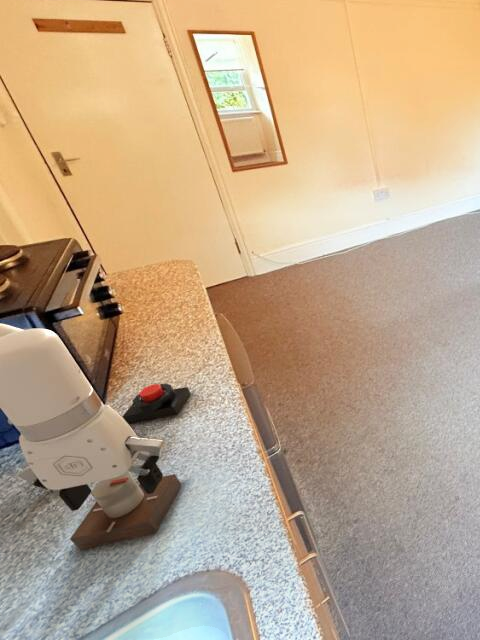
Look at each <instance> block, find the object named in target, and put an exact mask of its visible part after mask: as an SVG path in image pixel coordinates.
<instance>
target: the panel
mask: <svg viewBox="0 0 480 640" xmlns="http://www.w3.org/2000/svg"><path fill="white" fill-rule="evenodd" d="M136 482H137V484H138V485H139V487H140V488H141V490H142V491H143V493H144V497H143V499H142V501H141V502H140V504H139V505H138V506H137V507H136V508H135V509H133V510H132V511H130V512H129V513H127V514H125V515H123V516H121V517H117V518H110V517H108V516H107V514H106V513H105V512H104V510H103V509H102V508H101V507H100V505H99V504H98V503H97V501H96V500H95V503H94V504H93V505H92V506H91V508H90V509H89V511H88V512H87V514H86V516H85V517H84V519H83V520H82V521H81V523H79V525H78V526H77V528H76V530H75V531H74V532H73V534H72V536H71V537H70V538H69V540H70V541H71V542H72V543H73V544H74V546H75V547H76V548H77V549H78V550H79V551H83V550H84V551H85V550H87V549H88V550H89V549H93V548H97V547H100V546H105V545H110V544H114V543H117V542H123V541H127V540H130V539H135V538H139V537H143V536H148V535H151V534H152V535H153V534H156V533H158V531H159V529H160V527H161V525H162V523H163V522H164V520H165V517H166V516H167V514H168V511H169V510H170V508H171V506H172V504H173V503H174V501H175V499H176V497H177V495H178V493H179V491H180V489H181V487H182V484H181V481H180V480H179V478H178V476H177V475H176V473H174V474H168V475H163V477H162V480H161V481H160V483H159V484H158V486H157V488H156V489H155V491H154V492H153V493H151V494H147V493H146V492H145V490H144V489H143V487H142V486H141V484H140V483H139V482H138V481H136Z"/></svg>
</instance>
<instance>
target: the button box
mask: <svg viewBox="0 0 480 640" xmlns="http://www.w3.org/2000/svg"><path fill="white" fill-rule="evenodd" d="M158 384H159V383H158ZM159 385H160V386H161V387H162V389H163V391H164V393H163V394H162V395H161V396H160V397H158V398H157V399H154V400H152V401H148V402H144V401H143V400H142V398H141V397H140V392H139V393H137V394H136V396H135V397H134V398H133V400H132V404H131V405H130V406H129V407H128V409H127V410H126V411H125V413H123V415H122V418H123V419H124V420H125V421H126V422H127V424H128V425H130V424H135V423H136V424H137V423H141V422H145V421H151V420H158V419H163V418H168V417H175V416H178V415H179V414H180V412H181V411H182V409H183V408H184V406H185V404H186V403H187V401H188V400H189V398H190V396H191V395H192V393H191V392H190V389H189V386H184V387H178V388H173V385H172V384H170V383H160V384H159Z"/></svg>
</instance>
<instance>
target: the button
mask: <svg viewBox="0 0 480 640" xmlns="http://www.w3.org/2000/svg"><path fill="white" fill-rule="evenodd" d="M139 393H140V397H141V398H142V400H143V401H144V402H148V401H152V400H154V399H157V398H158V397H160V396H161V395H162V394H163V393H164V391H163V389H162V387H161V386H160V385H159V383H154V384H150V385H148V386H146V387H144V388H143V389H141V390H140V392H139Z"/></svg>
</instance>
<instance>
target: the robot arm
mask: <svg viewBox="0 0 480 640" xmlns="http://www.w3.org/2000/svg"><path fill="white" fill-rule="evenodd" d="M0 410H1V411H2V412H3V414H4V415H5V417H6V418H7V423H8V424H9V425H13V426H14V427H15V429H17V431H18V432H19V433H20V436H19V437H18V442H19V445H20V450H21V452H22V455H23V457H24V459H25V461H26V463H27V464H28V465H27V466H26V467H25V468H23V470H21V472H20V473H19V474H18V478H19V479H22V480H24V481H27V482H29V483H33V486H34V487H37V488H40V489H45V490H48V493H49V494H50V495H58V496H59V498H60V499H61V500H62V501H63V503H64V504H65V505H66V507H68V508H69V509H70V511H71V512H75V511H77V510H79V509H80V508H81V507H82V506H83V504H84V503H85V502H86V500H87V499H88V497H89V496H90V495H91V494H92V489H91V487H90V486H89V484H94V483H99V482H100V481H103V480H108V479H112V478H116V477H119V476H122V475H124V474H125V473H127V471H129V472H130V473H132V474H136V475H137V477H136V480H137V482H139V483H140V484H141V486H142V487H143V489H144V490H145V492H146V493H147V494H151V493H153V492H154V491H155V489H156V488H157V486H158V484H159V483H160V481H161V480H162V477H163V476H164V474H163V473H162V471H161V470H160V468H159V466H158V465H157V462H159V459H160V458H161V456H162V455H163V453H164V447H165V441H164V440H162V439H156V438H155V439H154V438H143V437H139V436H138V435H137V434H136V433H135V431H134V430H133V428H132V427H131V426H130V424H127V422H126V421H125V420H124V418H123V416H121V415H120V414H119V413H118V412H117V411H116V410H115V409H113V407H111V406H110V405H109V404H104V403H103V400H101V398H100V396H99V395H98V393H97V392H96V390H95V389H94V388H93V387H92V384H91V383H90V382H89V380H88V379H87V377H86V376H85V374H84V372H83V371H82V369H81V368H80V366H79V365H78V363H77V362H76V361H75V359H74V357H73V356H72V354H71V353H70V351H69V349H68V348H67V347H66V345H65V344H64V342H63V341H62V339H61V338H60V337H59V335H58V334H57V333H55V332H54V331H52V330H50V329H46V328H38V327H37V328H28V329H27V328H26V329H22V328H19V327H16V326H12V325H9V324H5V323H0ZM136 459H137V460H141V461H143V464H138V463H135V461H136Z"/></svg>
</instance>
